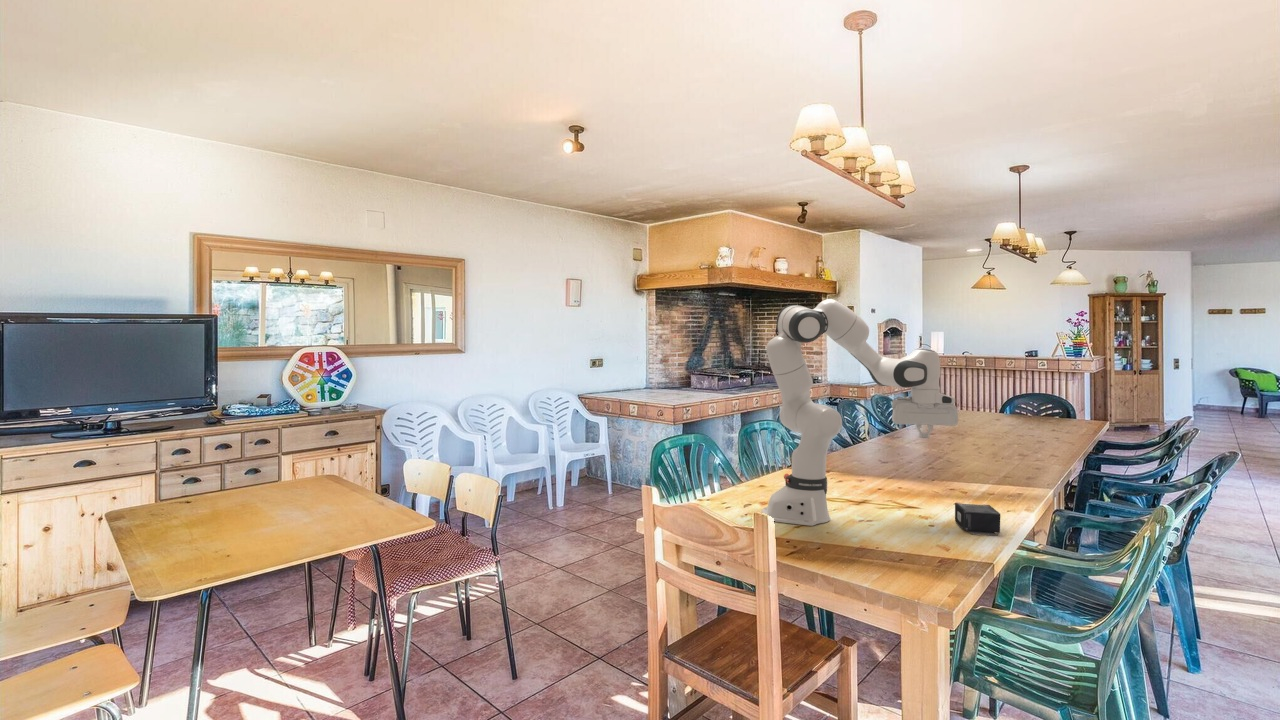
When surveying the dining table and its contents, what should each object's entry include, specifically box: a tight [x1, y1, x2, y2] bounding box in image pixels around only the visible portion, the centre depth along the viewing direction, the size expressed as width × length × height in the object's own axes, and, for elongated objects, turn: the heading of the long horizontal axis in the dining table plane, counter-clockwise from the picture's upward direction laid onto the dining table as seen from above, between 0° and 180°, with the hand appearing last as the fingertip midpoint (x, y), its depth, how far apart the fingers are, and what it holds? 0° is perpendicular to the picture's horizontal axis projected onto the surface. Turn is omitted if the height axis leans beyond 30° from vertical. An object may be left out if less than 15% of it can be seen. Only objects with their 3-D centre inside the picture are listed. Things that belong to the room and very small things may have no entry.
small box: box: [954, 502, 1001, 534], centre depth 194 cm, size 11×6×10 cm
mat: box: [967, 531, 999, 537], centre depth 194 cm, size 8×13×1 cm, turn 169°
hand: (924, 438), depth 205 cm, fingers closed
